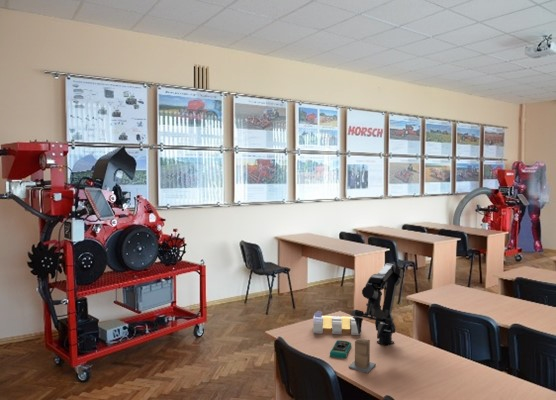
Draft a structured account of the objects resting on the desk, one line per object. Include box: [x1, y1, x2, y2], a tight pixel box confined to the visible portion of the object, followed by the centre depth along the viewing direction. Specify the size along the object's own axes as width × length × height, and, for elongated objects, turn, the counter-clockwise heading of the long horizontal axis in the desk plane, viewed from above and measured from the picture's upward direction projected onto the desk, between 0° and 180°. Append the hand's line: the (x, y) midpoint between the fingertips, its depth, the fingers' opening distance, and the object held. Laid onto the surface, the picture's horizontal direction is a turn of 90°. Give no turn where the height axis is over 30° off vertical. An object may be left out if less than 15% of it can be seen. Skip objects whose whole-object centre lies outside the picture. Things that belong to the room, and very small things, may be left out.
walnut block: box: [354, 337, 371, 368], centre depth 187 cm, size 5×5×11 cm
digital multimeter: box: [329, 339, 352, 360], centre depth 204 cm, size 8×15×3 cm, turn 160°
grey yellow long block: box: [312, 311, 362, 336], centre depth 229 cm, size 25×10×13 cm, turn 84°
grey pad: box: [348, 360, 376, 374], centre depth 188 cm, size 9×9×1 cm
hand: (368, 336), depth 193 cm, fingers open, 9 cm apart
